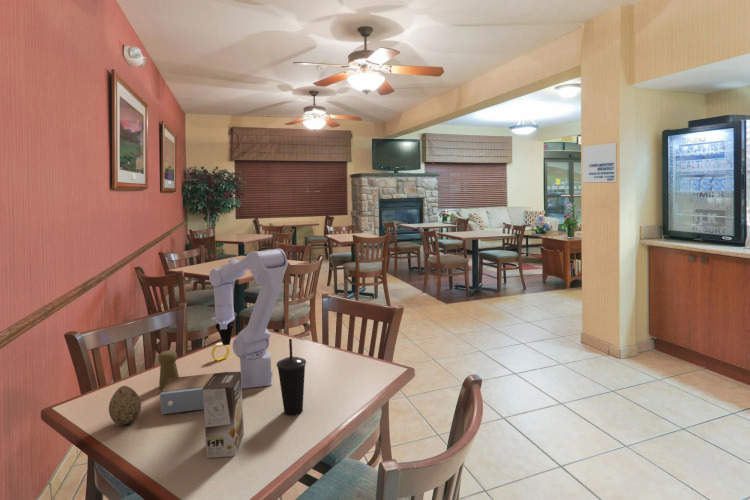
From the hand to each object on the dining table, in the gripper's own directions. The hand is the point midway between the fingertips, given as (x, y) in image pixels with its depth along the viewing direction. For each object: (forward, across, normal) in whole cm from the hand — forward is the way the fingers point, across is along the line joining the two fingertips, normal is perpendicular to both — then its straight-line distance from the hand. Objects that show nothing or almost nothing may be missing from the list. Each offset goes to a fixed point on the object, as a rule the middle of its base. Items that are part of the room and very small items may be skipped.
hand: (226, 344), depth 140 cm
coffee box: (+9, +45, +3) cm, 46 cm away
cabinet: (+9, +20, -7) cm, 23 cm away
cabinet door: (+9, +26, -7) cm, 28 cm away
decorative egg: (+10, +27, -23) cm, 37 cm away
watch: (+10, -13, -3) cm, 16 cm away
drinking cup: (+9, +34, +19) cm, 40 cm away
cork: (+10, +6, -17) cm, 20 cm away
